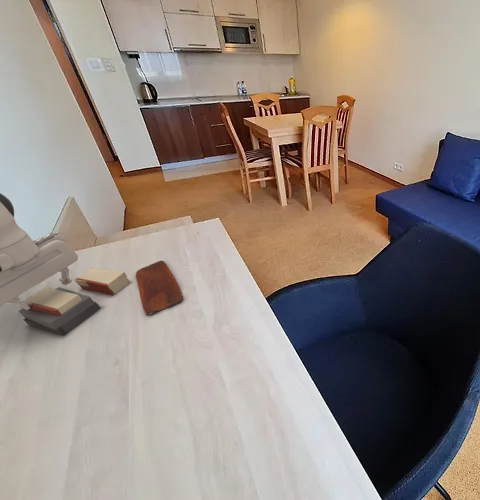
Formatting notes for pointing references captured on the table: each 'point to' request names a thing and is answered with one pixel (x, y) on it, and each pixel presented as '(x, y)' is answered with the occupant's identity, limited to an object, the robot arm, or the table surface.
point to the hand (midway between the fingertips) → (49, 294)
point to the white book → (53, 301)
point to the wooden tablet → (157, 287)
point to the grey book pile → (61, 316)
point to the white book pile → (103, 281)
